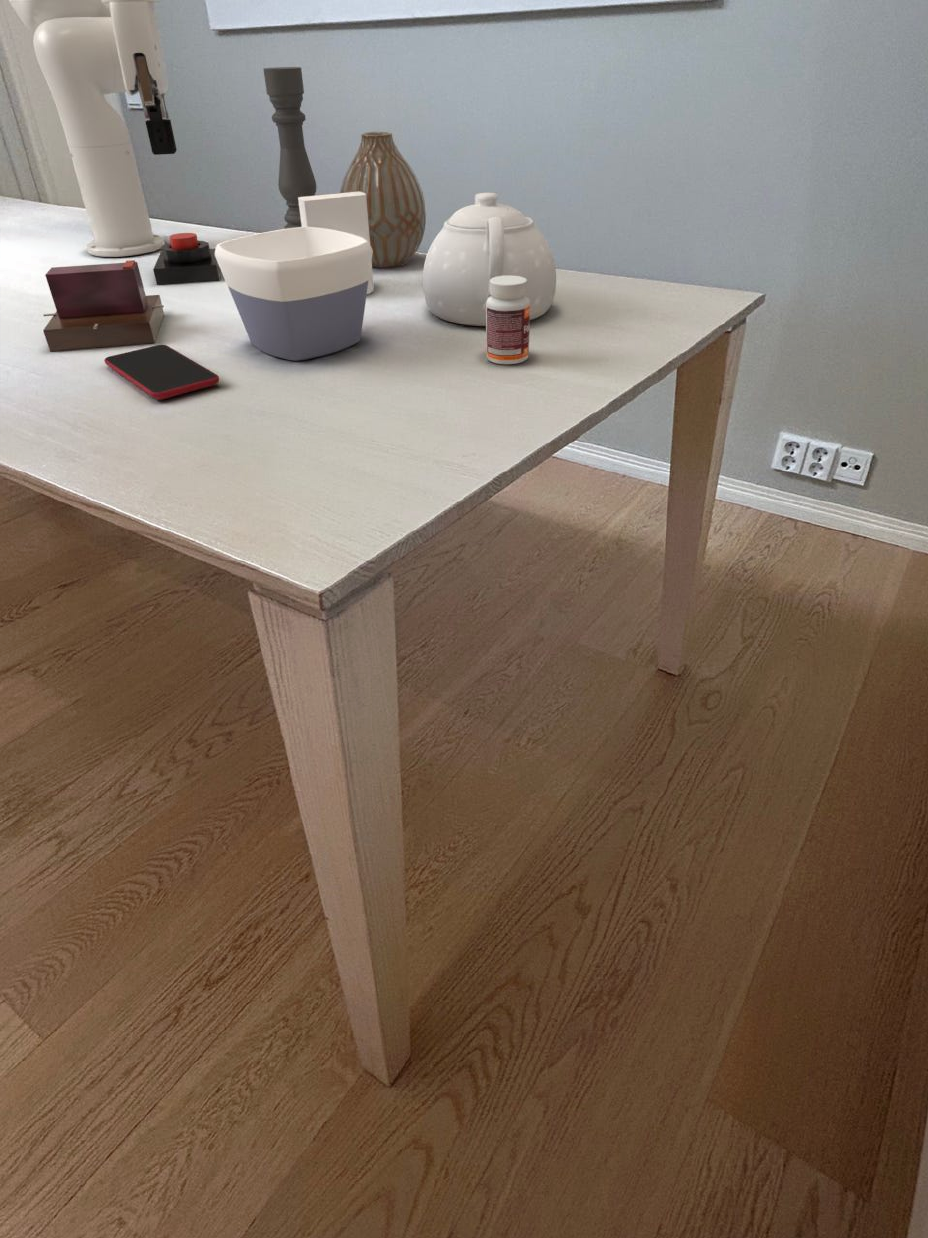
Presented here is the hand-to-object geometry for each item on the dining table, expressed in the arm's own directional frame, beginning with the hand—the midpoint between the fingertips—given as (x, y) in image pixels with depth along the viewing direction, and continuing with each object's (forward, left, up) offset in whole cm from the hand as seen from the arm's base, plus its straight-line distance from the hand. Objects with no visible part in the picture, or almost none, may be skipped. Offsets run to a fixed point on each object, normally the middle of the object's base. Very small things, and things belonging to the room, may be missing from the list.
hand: (164, 152), depth 112 cm
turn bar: (+27, -8, -14) cm, 31 cm away
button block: (0, 0, -16) cm, 16 cm away
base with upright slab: (+16, +22, -16) cm, 32 cm away
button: (0, 0, -13) cm, 13 cm away
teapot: (+31, +40, -16) cm, 53 cm away
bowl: (+38, +16, -16) cm, 44 cm away
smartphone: (+45, 0, -16) cm, 48 cm away
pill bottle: (+49, +38, -16) cm, 64 cm away
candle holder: (-12, +18, -16) cm, 27 cm away
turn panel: (+27, -8, -16) cm, 32 cm away
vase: (+2, +30, -16) cm, 34 cm away
